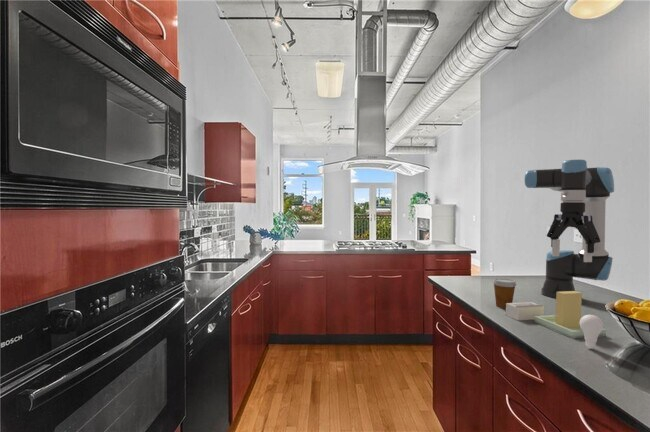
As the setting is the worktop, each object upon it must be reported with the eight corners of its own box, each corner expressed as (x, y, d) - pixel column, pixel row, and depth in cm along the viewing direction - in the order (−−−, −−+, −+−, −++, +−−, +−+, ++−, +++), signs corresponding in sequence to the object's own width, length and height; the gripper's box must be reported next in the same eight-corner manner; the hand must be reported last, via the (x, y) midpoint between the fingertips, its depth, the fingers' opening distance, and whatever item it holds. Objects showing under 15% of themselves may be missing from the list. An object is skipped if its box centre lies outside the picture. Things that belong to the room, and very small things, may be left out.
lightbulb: (574, 345, 116) (575, 312, 116) (591, 344, 116) (592, 312, 116) (589, 353, 110) (590, 318, 110) (607, 352, 110) (608, 318, 110)
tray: (564, 320, 141) (564, 314, 141) (605, 336, 125) (606, 329, 124) (534, 322, 139) (534, 316, 138) (572, 338, 122) (572, 331, 122)
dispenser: (530, 313, 150) (531, 300, 150) (543, 318, 143) (544, 305, 143) (505, 315, 147) (506, 301, 147) (517, 320, 141) (518, 306, 140)
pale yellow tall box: (573, 324, 134) (574, 290, 133) (580, 327, 131) (581, 292, 130) (555, 325, 132) (556, 291, 132) (562, 328, 129) (563, 293, 129)
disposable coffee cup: (518, 310, 155) (519, 283, 154) (495, 308, 157) (496, 281, 156) (511, 304, 164) (512, 278, 164) (489, 302, 166) (490, 277, 165)
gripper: (537, 201, 142) (536, 254, 142) (596, 201, 117) (593, 265, 118) (553, 202, 143) (551, 253, 144) (614, 201, 118) (612, 264, 119)
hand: (570, 259), depth 131 cm, fingers open, 13 cm apart
